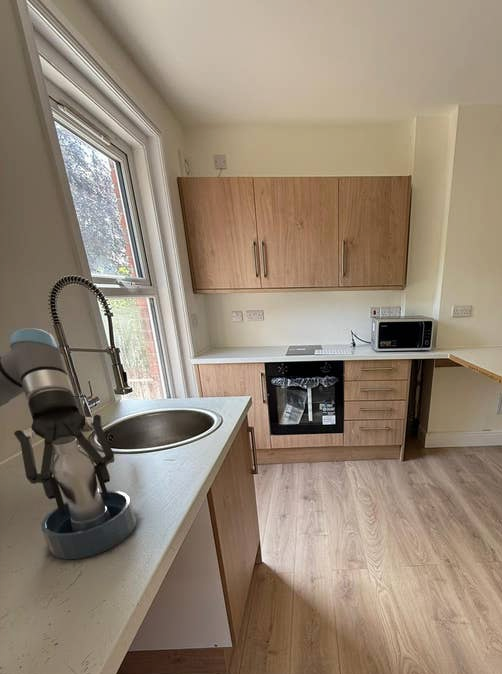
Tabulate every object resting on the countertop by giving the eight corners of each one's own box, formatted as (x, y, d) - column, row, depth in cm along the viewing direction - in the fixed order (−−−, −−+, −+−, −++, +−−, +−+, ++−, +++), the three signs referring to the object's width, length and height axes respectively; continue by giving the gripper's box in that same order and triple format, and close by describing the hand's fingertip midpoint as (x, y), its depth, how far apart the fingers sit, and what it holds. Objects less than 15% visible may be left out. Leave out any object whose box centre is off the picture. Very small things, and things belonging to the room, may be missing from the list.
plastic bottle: (104, 518, 73) (76, 430, 65) (120, 529, 69) (92, 438, 61) (70, 535, 68) (35, 442, 60) (85, 548, 64) (50, 452, 57)
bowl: (33, 565, 62) (21, 538, 60) (80, 515, 75) (72, 492, 73) (115, 560, 63) (106, 533, 60) (148, 512, 76) (142, 488, 74)
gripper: (108, 399, 77) (142, 493, 71) (-6, 419, 66) (24, 532, 60) (105, 379, 71) (142, 480, 65) (-20, 398, 60) (11, 521, 54)
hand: (85, 505), depth 63 cm, fingers closed on plastic bottle, 6 cm apart
